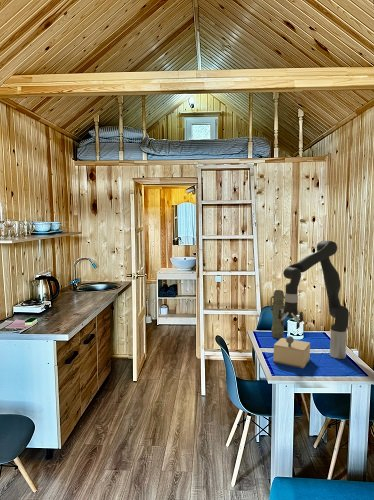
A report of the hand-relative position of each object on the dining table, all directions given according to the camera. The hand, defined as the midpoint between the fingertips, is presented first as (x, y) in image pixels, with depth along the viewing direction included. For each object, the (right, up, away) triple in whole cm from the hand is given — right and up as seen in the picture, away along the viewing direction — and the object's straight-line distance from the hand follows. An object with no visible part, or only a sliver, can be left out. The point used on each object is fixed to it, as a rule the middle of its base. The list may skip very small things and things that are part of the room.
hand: (290, 327), depth 219 cm
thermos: (+6, -19, +56) cm, 59 cm away
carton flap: (+3, -12, +6) cm, 14 cm away
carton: (+3, -22, +7) cm, 23 cm away
